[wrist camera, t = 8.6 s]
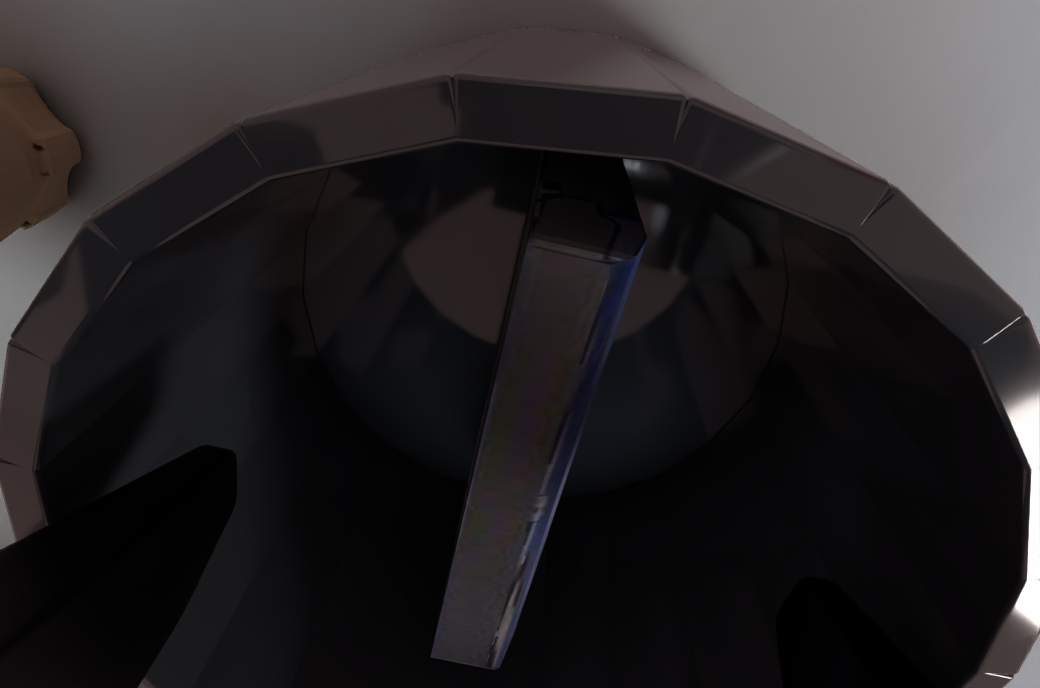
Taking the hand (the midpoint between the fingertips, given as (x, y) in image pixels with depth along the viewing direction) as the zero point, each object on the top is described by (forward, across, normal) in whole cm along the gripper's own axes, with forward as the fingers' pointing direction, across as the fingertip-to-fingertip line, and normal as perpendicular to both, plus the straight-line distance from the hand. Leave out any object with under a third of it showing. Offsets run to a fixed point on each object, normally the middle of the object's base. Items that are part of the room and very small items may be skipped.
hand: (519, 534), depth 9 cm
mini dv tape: (+7, 0, 0) cm, 7 cm away
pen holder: (+7, 0, 0) cm, 7 cm away
